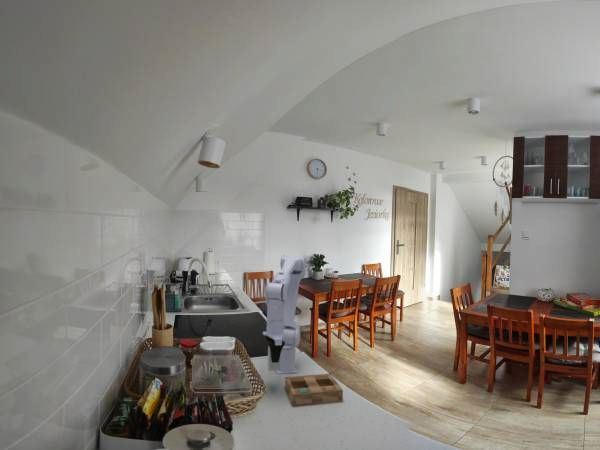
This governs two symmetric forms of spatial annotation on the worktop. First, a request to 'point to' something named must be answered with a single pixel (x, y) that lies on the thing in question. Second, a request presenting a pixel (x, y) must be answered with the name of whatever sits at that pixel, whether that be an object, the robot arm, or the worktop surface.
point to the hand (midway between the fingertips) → (274, 359)
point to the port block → (313, 389)
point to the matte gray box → (272, 365)
